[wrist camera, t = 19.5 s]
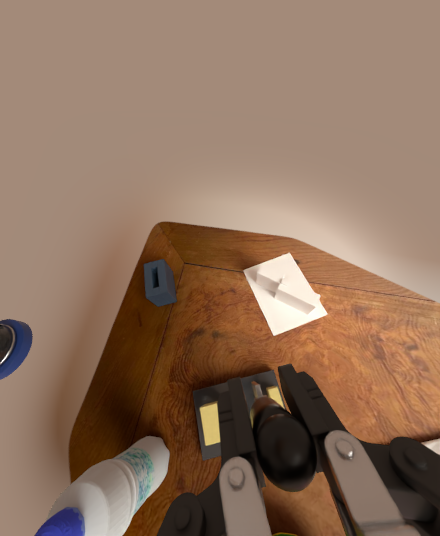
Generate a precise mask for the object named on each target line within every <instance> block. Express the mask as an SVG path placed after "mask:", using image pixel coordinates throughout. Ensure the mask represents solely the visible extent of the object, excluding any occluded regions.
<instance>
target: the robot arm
mask: <svg viewBox="0 0 440 536" xmlns="http://www.w3.org/2000/svg"><path fill="white" fill-rule="evenodd" d="M16 344H17V332H16V330H15V329H14V328H13V327H11V326H9V325H3V324H0V367H1V366H2V365H3V364H4V363H5V362H6V361H7V360H8V359H9V358H10V356H11V355H12V353H13V351H14V349H15V347H16ZM278 372H279V378H280V383H281V388H282V392H283V395H284V398H285V400H286V403H287V405H288V407H289V410H290V412H291V414H292V415H293V416H294V417H295V418H296V419H298V420H299V421H300V422H301V423H302V424H303V425H304V426H305V427H306V429H307V430H308V432H309V433H310V435H311V437H312V439H313V441H314V444H315V447H316V451H317V469H316V472H317V473H319V472H324V474H325V476H326V479H327V481H328V483H329V488H330V492H331V496H332V498H333V501H334V504H335V506H336V509H337V512H338V515H339V517H340V520H341V523H342V526H343V528H344V531H345V534H346V536H440V455H439V454H437V453H436V452H434V451H433V450H431V449H429V448H428V447H426V446H425V445H423V444H421V443H420V442H418V441H416V440H414V439H411V438H407V437H397V438H394V439H393V440H392V441H391V442H390V445H381V444H373V443H367V442H364V441H361V440H359V439H357V438H356V437H354V436H353V435H351V434H350V433H349V432H348V431H347V430H346V429H345V427H344V426H343V424H342V423H341V421H340V420H339V418H338V417H337V415H336V414H335V412H334V410H333V409H332V407H331V406H330V404H329V403H328V401H327V400H326V398H325V397H324V395H323V393H322V392H321V390H320V389H319V388H318V386H317V384H316V383H315V381H314V379H313V378H312V377H311V376H309V375H308V374H307V373H305V372H304V371H303V372H299V373H296V371H295V369H294V367H293V366H292V364H287V365H283V366H279V367H278ZM227 382H228V389H229V391H226V392H222V393H220V395H219V398H218V402H217V408H218V420H219V433H220V445H221V458H222V462H221V468H220V472H219V474H218V476H217V478H216V480H215V481H214V482H213V483H212V484H211V485H210V486H209V487H208V488H207V489H205V490H204V491H203V492H201V493H200V494H199V495H197V496H196V495H194V494H193V493H183V494H181V495H180V496H178V497H177V498H176V499H175V500H174V501H173V502H172V504H171V505H170V507H169V509H168V511H167V513H166V516H165V518H164V520H163V523H162V525H161V527H160V529H159V532H158V534H157V536H272V534H271V530H270V527H269V523H268V520H267V516H266V508H265V503H264V498H263V494H262V489H261V488H262V487H266V484H265V480H264V476H263V471H262V468H261V466H260V464H259V462H258V458H257V450H256V445H255V439H254V433H253V428H252V424H251V420H250V415H249V411H248V407H247V402H246V398H245V395H244V391H243V387H242V383H241V379H240V377H236V378H233V379H229V380H227Z"/></svg>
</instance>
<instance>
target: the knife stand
mask: <svg viewBox="0 0 440 536" xmlns="http://www.w3.org/2000/svg"><path fill="white" fill-rule="evenodd" d="M144 277H145V292H146V298H147V299H149V300H150V301H151V302H152V303H154V304H155V305H156V306H158V307H159V306H162V305H166V304H170V303H174V302H177V299H176V291H175V284H174V277H173V271H172V270H171V269H170V267H169V266H168V264H167V263H166V262H165V260H164V259H161V260H157V261H153V262H150V263H146V264H144Z"/></svg>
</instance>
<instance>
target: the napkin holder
mask: <svg viewBox="0 0 440 536" xmlns="http://www.w3.org/2000/svg"><path fill="white" fill-rule="evenodd" d="M243 271H244V274H245V276H246V278H247V280H248V282H249V284H250V286H251V288H252V291H253V293H254V295H255V297H256V299H257V301H258V303H259V306H260V308H261V310H262V312H263V314H264V316H265V318H266V321H267V323H268V325H269V327H270V329H271V331H272V333H273V335H274V336H275V335H278V334H280V333H283V332H285V331H288V330H290V329H293V328H295V327H298V326H300V325H303V324H305V323H308V322H310V321H313V320H315V319H318V318H320V317H323V316H325V315H328V314H327V312H326V311H325V309H324V307H323V306H322V304H321V303H320V301H319V298H320V296H321V295H319V294H317V293H314V291H313V290H312V288H311V287H310V285H309V283H308V282H307V280H306V279H305V277H304V275H303V274H302V272H301V271H300V269H299V267H298V266H297V264H296V263H295V261H294V259H293V258H292V256H291V255H290V253H288V254H285V255H282V256H280V257H277V258H274V259H272V260H269V261H266V262H264V263H261V264H258V265H256V266H253V267H250V268H248V269H245V270H243Z"/></svg>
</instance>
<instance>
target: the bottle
mask: <svg viewBox="0 0 440 536" xmlns="http://www.w3.org/2000/svg"><path fill="white" fill-rule="evenodd" d="M168 462H169V450H168V449H167V448H166V446H165V444H164V442H163V439H161V438H159V437H153V436H147V437H144V438H142V439H140V440H139V441H137V442H136V443H135V444H133V445H132V446H131V447H130V448H129V449H127V450H126V451H124V452H122V453H121V454H119V455H118V456H116V457H114V458H113V459H109V460H105V461H102V462H100V463H99V464H96V465H94V466H92V467H91V468H89V469H88V470H86V471H85V472H84V473H83V474H82V475H81V476H80V477H79V478H78V479H77V480H76V481H74V482H73V483H72V484H71V485H70V486H69V487H67V488H66V489H65V490H64V491H63V492H62V493H61V494H60V496H59V497H58V498H57V500H56V501H55V503H54V505H53V506H52V508H51V510H50V512H49V515H48V517H47V520H46V522H45V523H44V524H43V525H42V526H41V528H40V529H39V530H38V532H37V533H36V534H35V536H122V535H123V534H124V532H125V531H126V529H127V528H128V526H129V524H130V521H131V519H132V517H133V515H134V514H135V513H136V512H137V510H138V509H139V508H140V507H141V505H142V504H143V503H144V502H145V500H146V499H147V498H148V497H149V496H150V495H151V494H152V493H153V492H154V491H155V490H156V489H157V488H158V487H159V485H160V484H161V483H162V481H163V479H164V478H165V476H166V473H167V470H168Z"/></svg>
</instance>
